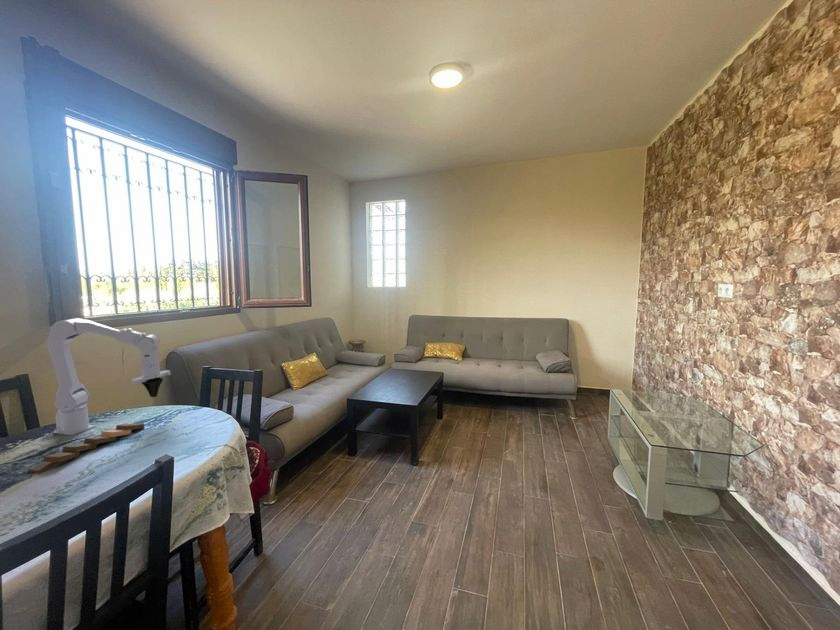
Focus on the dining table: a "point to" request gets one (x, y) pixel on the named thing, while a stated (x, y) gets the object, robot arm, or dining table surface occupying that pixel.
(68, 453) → the domino
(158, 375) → the robot arm
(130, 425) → the domino
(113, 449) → the dining table surface
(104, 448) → the dining table surface
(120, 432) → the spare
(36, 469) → the domino
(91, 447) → the domino
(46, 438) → the dining table surface
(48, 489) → the dining table surface
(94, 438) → the domino
